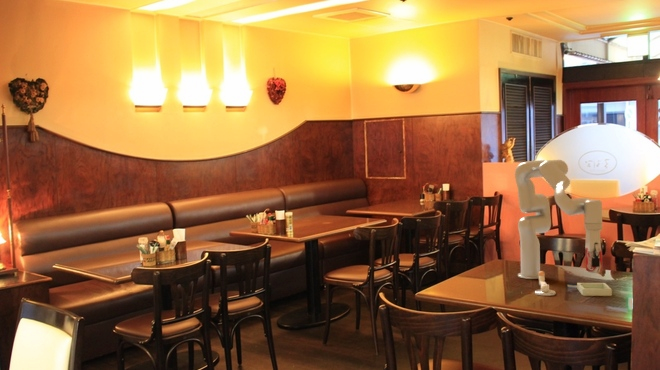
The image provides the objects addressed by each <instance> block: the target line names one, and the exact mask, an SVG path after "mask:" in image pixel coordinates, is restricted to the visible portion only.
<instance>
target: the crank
mask: <svg viewBox="0 0 660 370" xmlns="http://www.w3.org/2000/svg"><path fill="white" fill-rule="evenodd" d="M538 275H539V279H538V285H539V286H540V289H541V291H542V292H549V290H550V284H547V282H546V281H545V280H546V279H545V276H546V272H545V271H544V270H540V272H539V273H538Z"/></svg>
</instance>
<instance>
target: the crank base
mask: <svg viewBox="0 0 660 370" xmlns="http://www.w3.org/2000/svg"><path fill="white" fill-rule="evenodd" d="M534 294H535V295H537V296H541V297H553V296H556V290H552V289H549V292H542V291H541V288H540V289H536V290H534Z"/></svg>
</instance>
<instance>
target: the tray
mask: <svg viewBox="0 0 660 370" xmlns="http://www.w3.org/2000/svg"><path fill="white" fill-rule="evenodd" d="M576 289H577V291H578V292H579V293H580V294H581V296H584V297H586V296H587V297H588V296H590V297H599V296H600V297H601V296H602V297H613V289H612V288H611V287H610V286H609V285H608V284H607V283H606V282H576Z"/></svg>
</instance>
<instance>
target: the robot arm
mask: <svg viewBox="0 0 660 370" xmlns="http://www.w3.org/2000/svg"><path fill="white" fill-rule="evenodd" d="M568 171H569V167H568V164H567V163H566V162H565V161H564V160H562V159H553V160H551V159H549V160H548V159H546V160H545V159H543V160H542V159H541V160H529V161H524V162H523V161H522V162H520V163H519V164H517V166H516V167H515V170H514V178H515V183H516V186H517V187H516V188H517V195H518V207H519V211H520V212H521V213H522V214H533V215H526V216H523V217H521V218H520V219H519V220H518V223H517V229H518V234H519V240H520V241H519V242H520V243H519V244H520V246H519V247H520V272H519V273H517V277H518V278H521V279H527V280H537V279H538V280H539V275H538V273H539V272H540V271H541V248H540V246H541V245H540V240H539V238H538V236H537V234H545V233H547V232H549V231H550V230H551V227H552V219H551V208H550V206H551V205H550V201H549V199H548V197H547V196H546V195H544V194H542V193H536V187H535V184H534V182H533V181H532V178H544V180H546V182H547V183H548V185H550V186H551V189H553V190H554V192H553V193H554V194H553V196H554V201H555V203H556V205H557V206H558V207H559V209H560V210H561V211H562V212H563V213H565V214H566V215H569V216H577V215H584V224H583V225H584V231H585V243H584V244H585V245H584V247H585V249H586V248H588V251H589V252H591V251H592V256H593V258H592V267H600V257H599V252H600V251H601V249H602V244H601V243H602V241H601V232H602V231H603V202H602V200H600V199H591V198H587V197H578V198H570V197H569V196H568V195H567V192H565V190H567V189H568V188H569V186H570V184H571V180H570V179H569V177H568V176H567V174H568ZM534 213H535V214H534ZM593 250H595V251H593ZM594 253H595V254H594Z"/></svg>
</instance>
